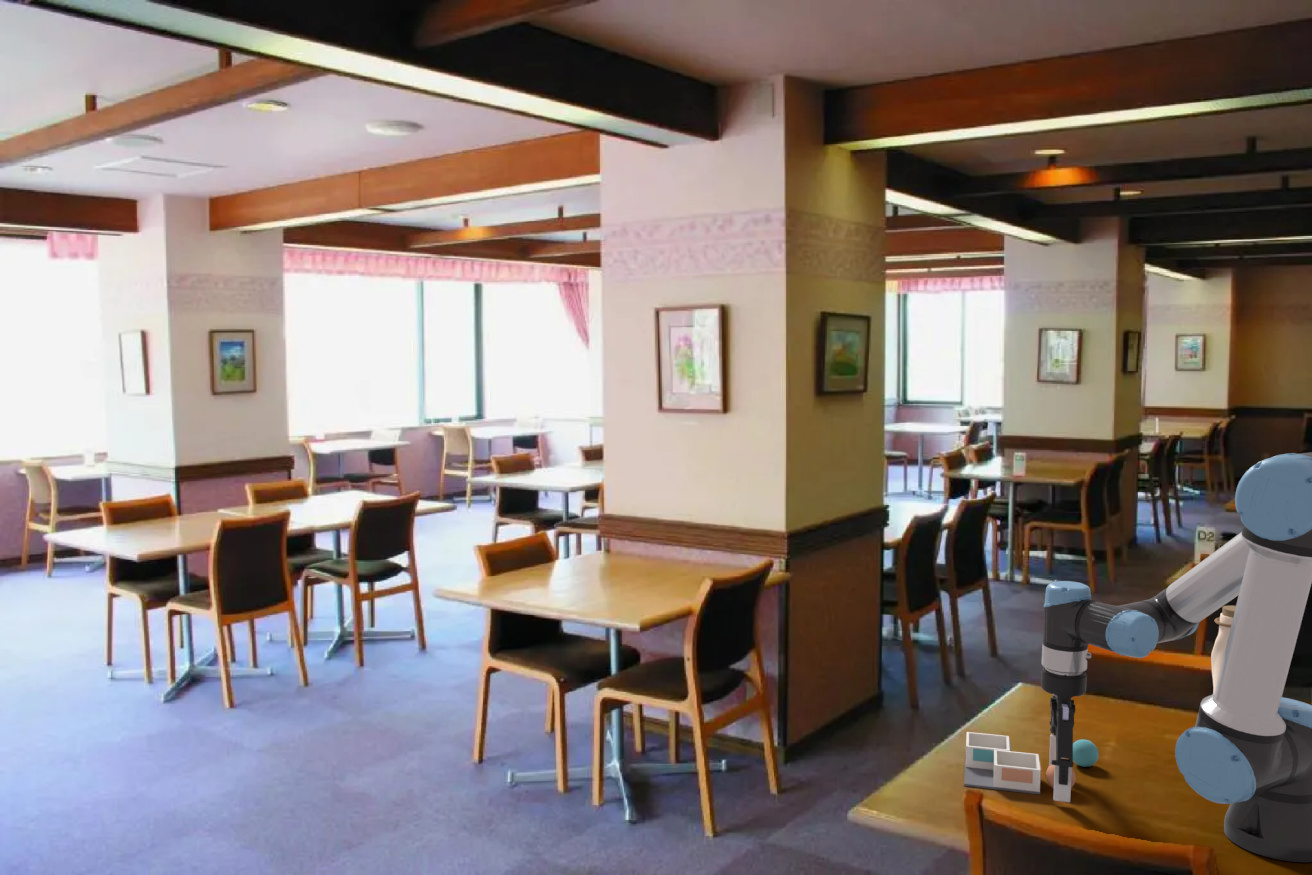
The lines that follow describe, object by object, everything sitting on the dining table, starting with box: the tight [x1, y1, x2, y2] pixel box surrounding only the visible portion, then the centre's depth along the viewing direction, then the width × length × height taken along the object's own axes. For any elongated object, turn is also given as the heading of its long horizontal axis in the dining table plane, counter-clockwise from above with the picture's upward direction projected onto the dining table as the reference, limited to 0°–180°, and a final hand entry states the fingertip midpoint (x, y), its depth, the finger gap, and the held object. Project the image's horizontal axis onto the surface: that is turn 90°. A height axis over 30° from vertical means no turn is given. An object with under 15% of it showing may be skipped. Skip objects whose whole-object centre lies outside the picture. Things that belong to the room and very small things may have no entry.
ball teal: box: [1073, 738, 1099, 768], centre depth 205 cm, size 5×5×5 cm
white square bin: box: [965, 731, 1012, 770], centre depth 206 cm, size 8×8×4 cm
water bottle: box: [1210, 605, 1236, 695], centre depth 212 cm, size 10×9×28 cm
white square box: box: [993, 750, 1042, 793], centre depth 197 cm, size 8×8×4 cm
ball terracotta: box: [1045, 764, 1077, 790], centre depth 194 cm, size 5×5×5 cm
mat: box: [963, 753, 1041, 795], centre depth 201 cm, size 16×13×1 cm
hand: (1059, 784), depth 194 cm, fingers open, 13 cm apart
